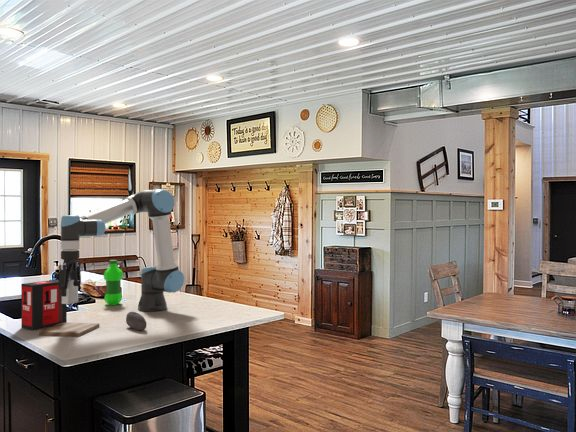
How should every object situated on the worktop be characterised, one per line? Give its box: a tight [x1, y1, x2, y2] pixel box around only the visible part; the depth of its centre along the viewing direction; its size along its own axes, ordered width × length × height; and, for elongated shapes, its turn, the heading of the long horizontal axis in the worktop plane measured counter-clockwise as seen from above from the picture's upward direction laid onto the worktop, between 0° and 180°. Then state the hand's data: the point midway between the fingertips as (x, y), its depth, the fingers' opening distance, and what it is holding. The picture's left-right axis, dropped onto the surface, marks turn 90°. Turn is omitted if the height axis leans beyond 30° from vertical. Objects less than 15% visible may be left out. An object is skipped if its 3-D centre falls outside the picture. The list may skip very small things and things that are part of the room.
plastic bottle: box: [103, 259, 124, 306], centre depth 285 cm, size 10×10×25 cm
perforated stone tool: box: [125, 311, 147, 332], centre depth 226 cm, size 15×5×7 cm, turn 41°
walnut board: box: [38, 322, 100, 337], centre depth 222 cm, size 18×18×2 cm
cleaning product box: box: [20, 279, 68, 331], centre depth 231 cm, size 16×9×20 cm, turn 148°
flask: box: [67, 279, 79, 305], centre depth 221 cm, size 7×7×10 cm
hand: (69, 302), depth 221 cm, fingers closed on flask, 7 cm apart
